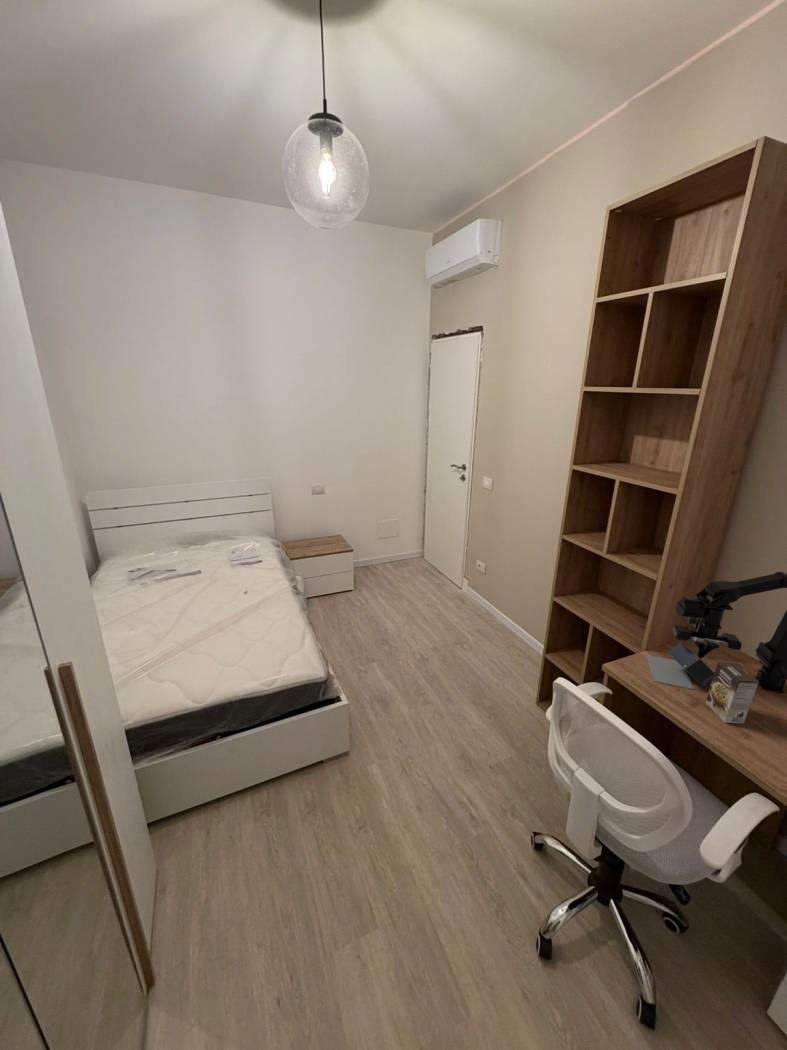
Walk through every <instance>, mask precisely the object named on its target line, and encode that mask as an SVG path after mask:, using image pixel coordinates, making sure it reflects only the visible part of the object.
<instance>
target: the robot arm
mask: <svg viewBox="0 0 787 1050" xmlns="http://www.w3.org/2000/svg"><path fill="white" fill-rule="evenodd" d="M781 589H787V573H786V572H785V571H784V572H783V571H777V572H775V573H773V574H768V575H763V576H762V575H761V576H757V577H753V578H749V579H744V580H739V581H727V580H722V581H721V580H720V581H719V580H718V581H712V582H709V583H707V585H706V586H705V587H704V588H703V589H701V590H700V591H699V592H698V593H696V594H695V595H694V597H688V596H682V597H681V599H679V600H678V601H677V602H676V604H675V606H676V607H675V610H676V614H677V615H678V616H679V617H683V618H686V623H687V624H691V626H692V627H693V629H694V630H690V629H689V628H688V626H687V625H681V624H675V625H673V626H672V629H671V631H672V633H673V636H674V637H675V639H677V640H681V641H688V640H689V641H690V639H691V640H692V641H693V644H694V645H695V646H696V651H697V656H698V657H699V658H700V659H703V658H704V657H705V656H707V655H708V654H709V653H710V652H712V651H714V650H715V649H720V646H719V644H720V643H725V644H726V646H727V647H728V649H731V650H737V651H740V650H741V648H742V642H741V640H740V639H739V638H738V636H737V635H736V634H732V633H727V632H723V633H721V634H720V635H719V631H720V630H721V629H722V625H721V624H722V622H723V618H724V615H725V611H733V610H734V608H733V607H732V606H731V604H732V603H735V602H737V601H738V600H739V599H741V598H742V597H745V596H750V595H755V594H760V593H765V592H766V593H767V592H770V591H775V590H781ZM707 597H709V598H707ZM710 599H711V600H710ZM695 630H696V631H695ZM754 651H755V652H756V653H755V656H756V657H757V659H758V662H759V663H760V664H761V667H760V669H758V670H757V673H756V675H755V676H754V678H756V679H757V680H758V681H759V683H758V685H759V687H760V688H761V689H762V690H768V691H772V692H778V693H783V694H785V693H786V691H785V689H784V687H785V684H786V682H787V609H786V610H785V612H784V614H783V616H782V618H781V620H780V621H779V624H778V625H777V627H776V629H775V631H774V633H773V635H772V637H771V638H770V640H768V641H766V642H763V641H760V642H759V643H758V646H757V648H756V649H755V650H754Z"/></svg>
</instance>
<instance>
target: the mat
mask: <svg viewBox="0 0 787 1050" xmlns="http://www.w3.org/2000/svg"><path fill="white" fill-rule="evenodd" d="M645 655H646V656H645V658H647V659H646V661H648V662H647V664H649V665H648V667H650V668H649V670H650V673H651V674H650V675H651V677H652V680H653V682H654V683H658V684H663V685H668V686H671V687H672V686H673V687H678V688H682V689H687V690H691V691H694V690H695V688H694V686H693V683H692V681H691V679H690V676H689V675H688V674H689V673H688V672H687V671H685V670H684V669H683V668H682V667H681V666H680V665H679V663H678V662H676V660H675V659H670V658H664V657H661V656H660V657H659V656H654V655H649V654H645Z"/></svg>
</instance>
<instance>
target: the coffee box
mask: <svg viewBox="0 0 787 1050" xmlns="http://www.w3.org/2000/svg"><path fill="white" fill-rule="evenodd" d="M710 683H711V684H710V687H709V691H708V694H707V697H706V699H705V700H706V701H705V704H706V705H707V706H708V707H709V708H710V709H711V710H712V711H713V713H715V714H716V715H717V716H718V717H719V718H720V719H721V721H722V722H724V723H725V724H745V721H746V719H747V715H748V713H749V709H750V708H751V705H752V701H753V700H754V699H753V698H754V696H755V694H756V691H757V688H758V685H759V681H758V680H757V679H756V678H755V676H754V675H752V674H751V673H750V672H748V670H746V669H745V668H744V667H743V666H742V665H741V664H740V663H738V662H728V661H717V663H716V666H715V671H714V677H713V680H712V681H711V682H710Z"/></svg>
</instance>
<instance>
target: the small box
mask: <svg viewBox="0 0 787 1050" xmlns="http://www.w3.org/2000/svg"><path fill="white" fill-rule="evenodd" d="M667 654H669V655H670V657H671V658H672V659H673V660H676V662H678V663H679V665H680V666H681V667H682V668H683V669H684V670H685V671H686V672H687V674H689V675H690V677H692V678H693V679H694V680H695V681H696V682H697V683H698V684H699V685H700V686H701V687H702V688H704V687H706V686H707V685H708V684H710V683H712V680H713V677H714V673H715V671H713V669H712V668H711V667H710V666H708V665H707V663H706V662H705V661H704V660H703V659H702V658H699V657H698V654H696V653H695V652H694V651H693V650H692V649H690V648H689V647H688V646H687V645H686V644H685V643H683V642H681V641H680V642H679V643H678V644H676V645H675V646H674V647H672V648H671V649H670V650H668V651H667Z"/></svg>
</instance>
